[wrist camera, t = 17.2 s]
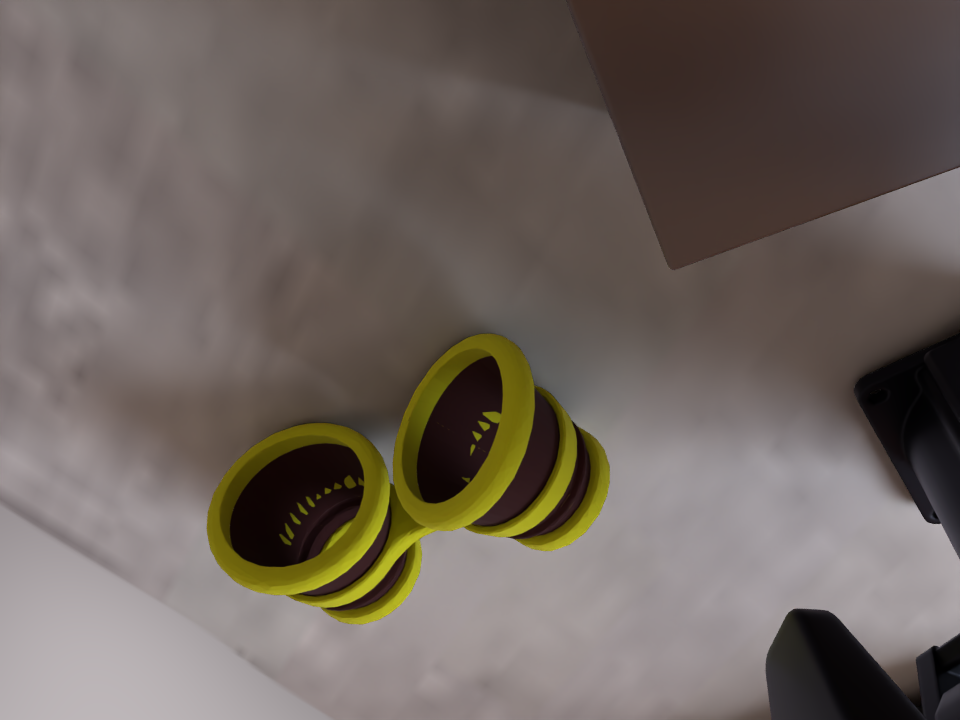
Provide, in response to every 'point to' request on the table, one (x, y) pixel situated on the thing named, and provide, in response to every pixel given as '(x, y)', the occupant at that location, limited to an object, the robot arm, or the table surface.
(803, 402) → the table surface
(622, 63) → the organiser
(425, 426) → the opera glasses
